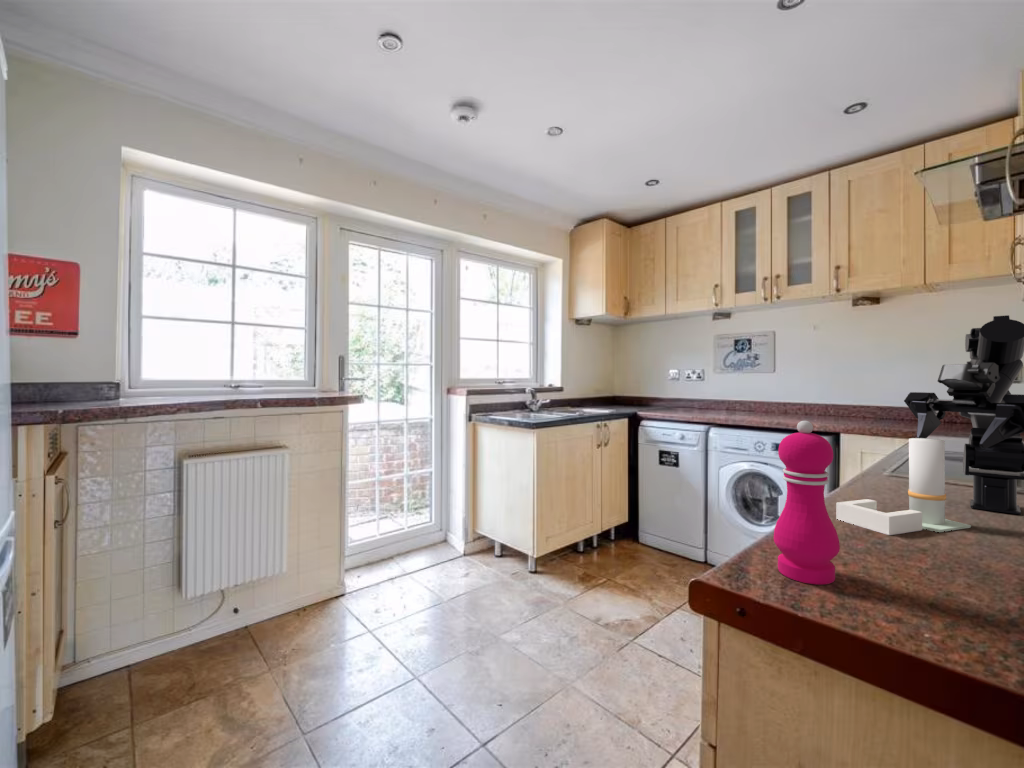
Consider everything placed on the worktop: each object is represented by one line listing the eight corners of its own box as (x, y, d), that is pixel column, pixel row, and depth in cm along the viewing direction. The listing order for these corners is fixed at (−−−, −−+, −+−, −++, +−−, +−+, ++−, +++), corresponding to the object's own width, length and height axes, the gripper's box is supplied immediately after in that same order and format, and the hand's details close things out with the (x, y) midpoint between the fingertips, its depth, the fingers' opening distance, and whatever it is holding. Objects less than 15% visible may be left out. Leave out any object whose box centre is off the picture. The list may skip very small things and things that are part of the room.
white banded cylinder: (909, 514, 83) (909, 437, 83) (946, 520, 79) (946, 439, 79) (906, 520, 79) (906, 440, 79) (945, 526, 76) (945, 442, 76)
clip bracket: (867, 515, 84) (867, 498, 84) (922, 530, 76) (922, 512, 76) (836, 519, 82) (836, 502, 82) (889, 535, 74) (889, 516, 73)
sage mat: (916, 514, 84) (916, 512, 84) (970, 527, 77) (970, 525, 77) (885, 518, 82) (885, 516, 82) (937, 532, 74) (937, 530, 74)
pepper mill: (849, 577, 58) (849, 420, 58) (824, 592, 54) (823, 424, 54) (789, 559, 64) (788, 417, 64) (763, 571, 60) (762, 420, 60)
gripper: (910, 351, 91) (870, 408, 88) (1041, 344, 73) (996, 415, 70) (937, 390, 93) (899, 447, 90) (1071, 392, 76) (1028, 463, 73)
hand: (948, 443), depth 81 cm, fingers open, 9 cm apart
